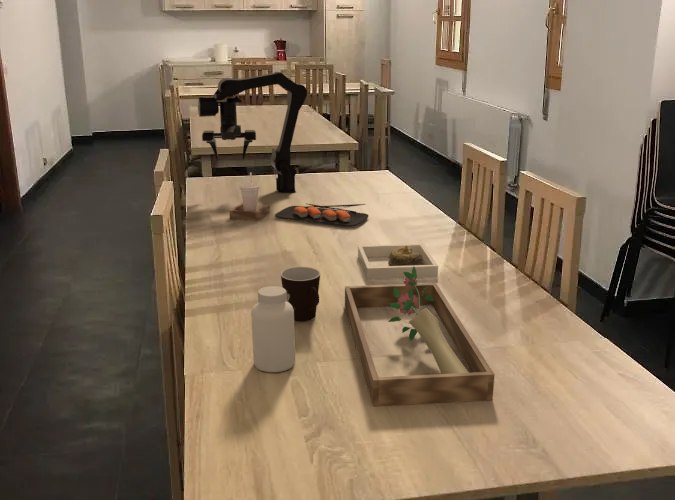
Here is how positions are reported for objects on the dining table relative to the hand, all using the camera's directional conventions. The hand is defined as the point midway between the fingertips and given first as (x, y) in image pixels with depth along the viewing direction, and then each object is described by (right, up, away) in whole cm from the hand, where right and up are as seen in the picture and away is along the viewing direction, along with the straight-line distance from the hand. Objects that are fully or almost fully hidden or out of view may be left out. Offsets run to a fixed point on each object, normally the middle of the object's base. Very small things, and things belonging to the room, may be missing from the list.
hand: (230, 159), depth 255 cm
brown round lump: (+57, -37, -65) cm, 94 cm away
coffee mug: (+31, -48, -99) cm, 114 cm away
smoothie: (+10, -21, -22) cm, 32 cm away
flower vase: (+56, -53, -115) cm, 138 cm away
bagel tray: (+54, -37, -67) cm, 94 cm away
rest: (+10, -21, -22) cm, 32 cm away
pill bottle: (+26, -54, -119) cm, 133 cm away
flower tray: (+53, -52, -112) cm, 135 cm away
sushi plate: (+36, -21, -18) cm, 46 cm away
